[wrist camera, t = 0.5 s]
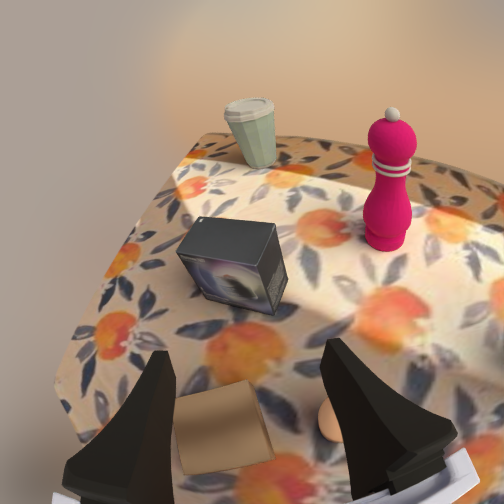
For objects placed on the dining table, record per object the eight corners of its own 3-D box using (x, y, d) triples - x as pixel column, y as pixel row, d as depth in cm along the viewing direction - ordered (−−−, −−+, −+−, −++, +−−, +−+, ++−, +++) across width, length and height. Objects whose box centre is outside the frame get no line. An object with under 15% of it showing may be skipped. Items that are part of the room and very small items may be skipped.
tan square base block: (275, 459, 22) (270, 459, 20) (196, 474, 22) (183, 475, 20) (253, 386, 29) (247, 379, 27) (181, 405, 29) (169, 399, 26)
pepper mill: (368, 216, 42) (367, 95, 28) (410, 227, 38) (424, 104, 24) (355, 247, 39) (353, 113, 24) (402, 260, 35) (422, 124, 21)
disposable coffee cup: (278, 147, 65) (264, 90, 54) (292, 166, 57) (279, 100, 46) (236, 160, 65) (218, 103, 54) (245, 180, 57) (225, 116, 47)
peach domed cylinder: (369, 431, 22) (379, 425, 18) (327, 449, 22) (328, 448, 18) (353, 395, 25) (360, 381, 21) (313, 412, 25) (310, 402, 21)
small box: (203, 301, 39) (171, 252, 31) (222, 266, 42) (198, 214, 35) (274, 318, 34) (255, 266, 27) (289, 278, 38) (276, 220, 30)
